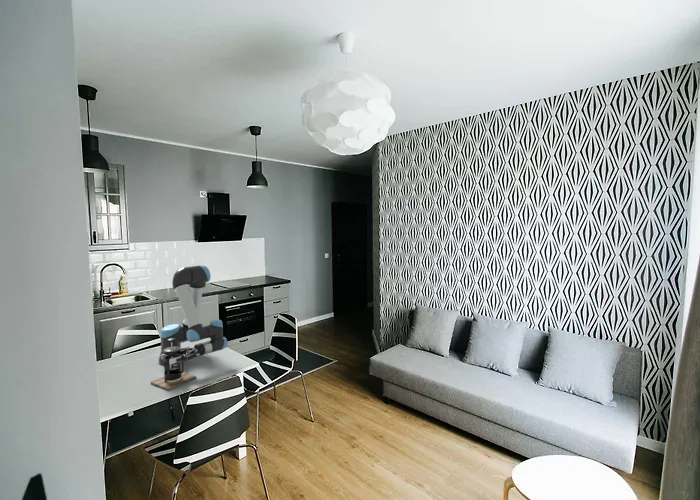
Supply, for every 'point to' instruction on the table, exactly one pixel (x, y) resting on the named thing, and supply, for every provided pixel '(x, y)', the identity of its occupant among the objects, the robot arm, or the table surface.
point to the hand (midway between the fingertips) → (165, 359)
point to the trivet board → (173, 381)
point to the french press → (172, 369)
